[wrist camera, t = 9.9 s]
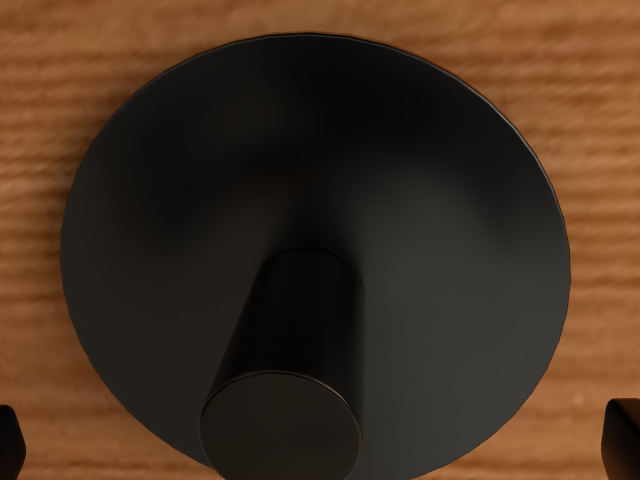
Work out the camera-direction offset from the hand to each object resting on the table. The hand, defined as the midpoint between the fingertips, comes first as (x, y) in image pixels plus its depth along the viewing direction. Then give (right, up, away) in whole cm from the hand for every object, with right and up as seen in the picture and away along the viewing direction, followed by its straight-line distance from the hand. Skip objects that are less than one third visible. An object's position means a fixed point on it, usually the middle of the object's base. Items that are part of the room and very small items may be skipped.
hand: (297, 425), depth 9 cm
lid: (0, +2, +4) cm, 4 cm away
